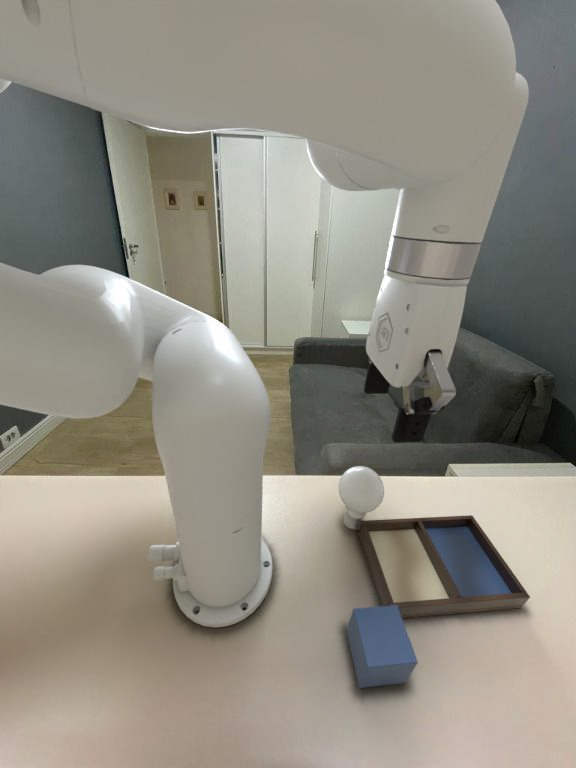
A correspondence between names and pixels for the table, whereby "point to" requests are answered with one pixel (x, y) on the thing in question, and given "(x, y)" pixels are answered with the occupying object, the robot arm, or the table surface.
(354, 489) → the lightbulb
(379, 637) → the block
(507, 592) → the sorting tray
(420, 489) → the table surface
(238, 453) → the robot arm
